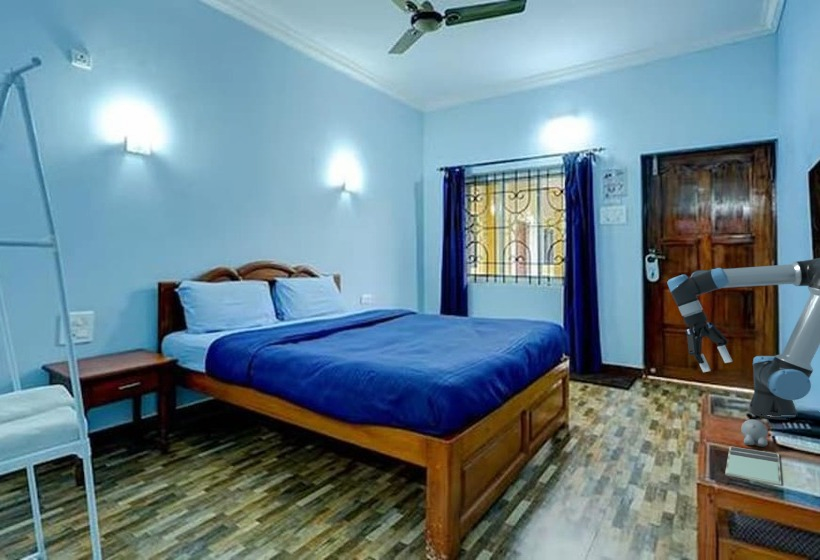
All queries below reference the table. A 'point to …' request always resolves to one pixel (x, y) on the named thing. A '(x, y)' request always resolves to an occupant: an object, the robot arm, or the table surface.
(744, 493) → the table surface
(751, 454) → the dark gray parallel strips
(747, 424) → the chubby cartoon animal
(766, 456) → the board
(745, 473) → the pad
